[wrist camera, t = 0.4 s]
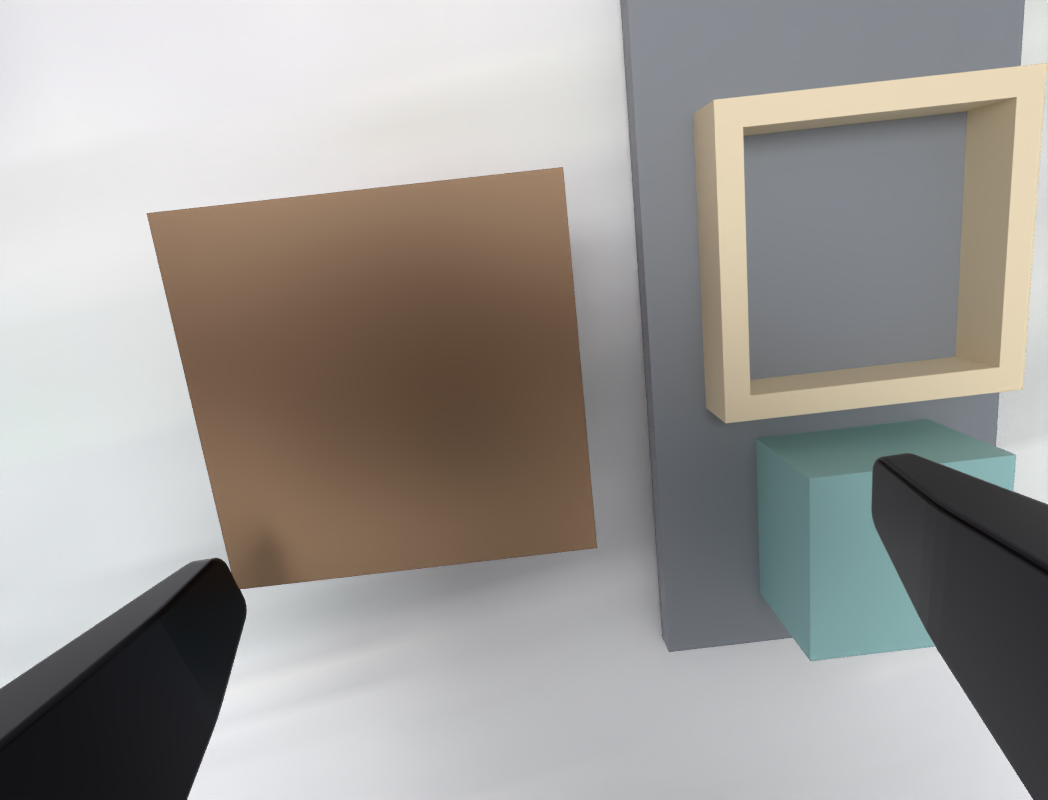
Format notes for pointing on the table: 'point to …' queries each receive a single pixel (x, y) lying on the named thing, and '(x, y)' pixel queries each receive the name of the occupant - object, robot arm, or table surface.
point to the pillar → (384, 375)
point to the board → (822, 291)
